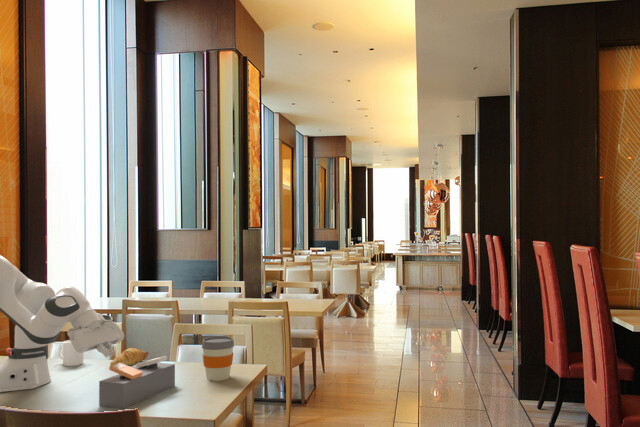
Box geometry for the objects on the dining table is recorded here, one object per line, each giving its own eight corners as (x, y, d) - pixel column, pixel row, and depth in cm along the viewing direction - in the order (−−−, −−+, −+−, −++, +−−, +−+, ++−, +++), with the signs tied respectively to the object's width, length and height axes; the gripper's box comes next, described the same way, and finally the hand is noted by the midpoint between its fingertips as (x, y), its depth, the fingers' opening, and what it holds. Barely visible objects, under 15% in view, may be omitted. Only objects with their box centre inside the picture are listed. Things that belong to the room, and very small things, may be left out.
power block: (99, 405, 176) (99, 377, 176) (152, 383, 202) (152, 359, 203) (123, 408, 172) (123, 380, 173) (174, 385, 199) (174, 361, 199)
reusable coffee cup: (201, 383, 202) (201, 343, 203) (202, 374, 214) (202, 337, 215) (234, 380, 205) (234, 341, 205) (233, 372, 217) (233, 335, 218)
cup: (73, 366, 230) (74, 343, 231) (51, 365, 234) (52, 342, 234) (87, 362, 238) (87, 339, 238) (66, 360, 242) (66, 338, 242)
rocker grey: (137, 367, 193) (136, 363, 194) (145, 364, 198) (145, 360, 198) (159, 362, 190) (158, 358, 191) (167, 359, 195) (166, 355, 195)
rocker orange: (108, 369, 181) (109, 365, 180) (119, 366, 185) (120, 362, 185) (132, 379, 177) (133, 375, 177) (141, 375, 182) (142, 371, 182)
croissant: (115, 377, 225) (122, 361, 224) (100, 364, 229) (106, 348, 228) (151, 365, 245) (157, 350, 243) (136, 353, 249) (142, 338, 247)
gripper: (70, 323, 176) (92, 355, 172) (114, 315, 195) (135, 343, 191) (59, 336, 177) (81, 368, 173) (104, 326, 196) (125, 355, 192)
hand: (110, 355), depth 182 cm, fingers closed
